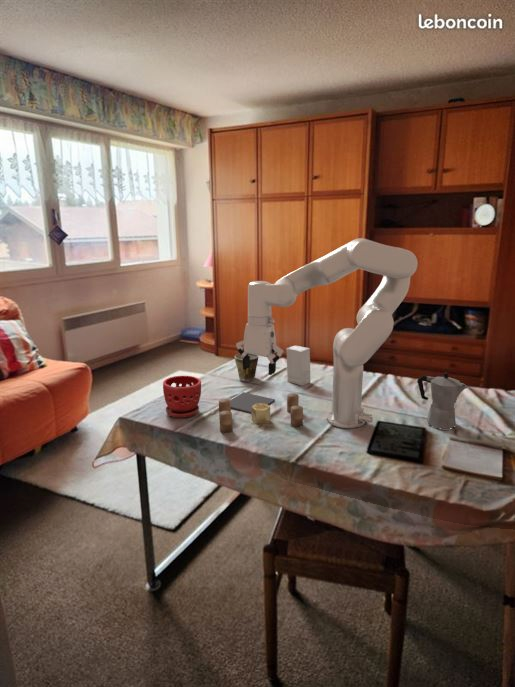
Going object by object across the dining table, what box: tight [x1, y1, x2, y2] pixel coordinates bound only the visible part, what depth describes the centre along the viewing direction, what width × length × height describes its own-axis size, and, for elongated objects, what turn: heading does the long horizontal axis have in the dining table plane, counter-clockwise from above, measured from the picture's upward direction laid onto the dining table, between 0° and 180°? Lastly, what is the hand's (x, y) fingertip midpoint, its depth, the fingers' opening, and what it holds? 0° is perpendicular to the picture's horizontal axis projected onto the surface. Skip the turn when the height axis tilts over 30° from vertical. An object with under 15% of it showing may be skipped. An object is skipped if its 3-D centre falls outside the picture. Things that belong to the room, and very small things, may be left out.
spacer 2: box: [218, 411, 233, 434], centre depth 147 cm, size 4×4×6 cm
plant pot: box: [162, 375, 202, 419], centre depth 160 cm, size 13×13×12 cm
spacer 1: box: [218, 398, 232, 419], centre depth 157 cm, size 4×4×6 cm
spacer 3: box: [286, 392, 300, 414], centre depth 161 cm, size 4×4×6 cm
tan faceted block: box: [250, 404, 271, 425], centre depth 154 cm, size 6×6×5 cm
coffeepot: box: [416, 372, 468, 429], centre depth 149 cm, size 15×9×18 cm, turn 54°
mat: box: [229, 392, 276, 414], centre depth 168 cm, size 14×14×1 cm
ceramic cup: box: [234, 353, 259, 382], centre depth 191 cm, size 13×10×10 cm
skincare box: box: [285, 345, 311, 387], centre depth 187 cm, size 8×6×15 cm
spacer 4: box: [290, 405, 304, 428], centre depth 151 cm, size 4×4×6 cm
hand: (258, 371), depth 150 cm, fingers open, 9 cm apart
